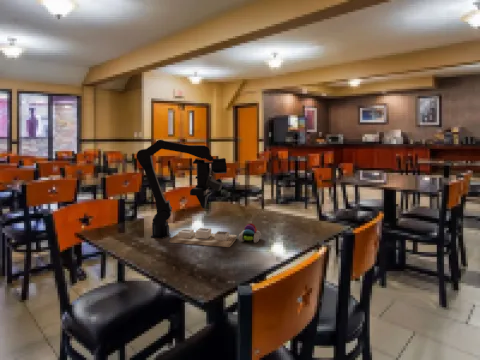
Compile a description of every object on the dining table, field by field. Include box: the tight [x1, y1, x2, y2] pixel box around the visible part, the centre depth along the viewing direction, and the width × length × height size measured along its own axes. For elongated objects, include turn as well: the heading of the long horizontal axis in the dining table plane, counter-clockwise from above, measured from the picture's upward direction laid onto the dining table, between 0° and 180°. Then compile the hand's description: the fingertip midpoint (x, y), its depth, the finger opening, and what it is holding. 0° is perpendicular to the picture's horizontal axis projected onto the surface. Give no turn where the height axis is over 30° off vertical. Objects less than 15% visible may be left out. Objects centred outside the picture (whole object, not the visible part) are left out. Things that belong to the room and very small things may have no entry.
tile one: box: [177, 228, 195, 238], centre depth 149 cm, size 5×5×3 cm
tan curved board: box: [169, 231, 238, 248], centre depth 147 cm, size 26×12×2 cm, turn 77°
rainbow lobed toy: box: [238, 223, 262, 244], centre depth 147 cm, size 8×10×7 cm
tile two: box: [195, 227, 212, 240], centre depth 147 cm, size 5×5×3 cm
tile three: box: [214, 230, 230, 241], centre depth 145 cm, size 5×5×3 cm
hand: (203, 208), depth 155 cm, fingers closed
